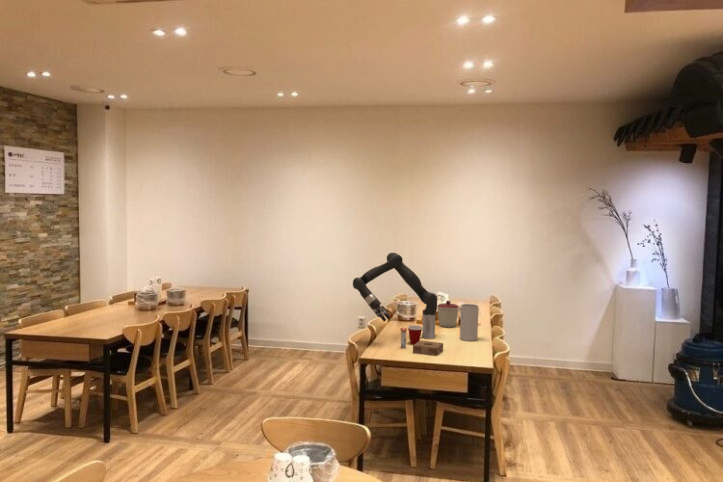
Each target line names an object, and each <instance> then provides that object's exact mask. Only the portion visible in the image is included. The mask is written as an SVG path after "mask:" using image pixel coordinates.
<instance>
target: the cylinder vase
mask: <svg viewBox="0 0 723 482" xmlns="http://www.w3.org/2000/svg"><path fill="white" fill-rule="evenodd" d="M459 323H460V324H459V325H460V326H459V327H460V328H459V339H460V340H461V341H465V342H475V341H478V331H479V305H478V304H471V303H463V304H461V305H460V322H459Z"/></svg>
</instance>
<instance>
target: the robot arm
mask: <svg viewBox="0 0 723 482" xmlns="http://www.w3.org/2000/svg"><path fill="white" fill-rule="evenodd" d="M393 269H394V270H396V272H397V273H398V275H399V276H400V277H401V278H402V280H403V282H405V283H406V284H407V285H408V287H410V288H411V290H412V291H413V292H414V293H415V294H416V295H417V296H418V298H419V299H420V301H421V302H422V303H423V304H425V309H423V311H422V327H423V329H422V331H421V334H422V335H421V337H422V338H423V339H426V340H427V339H429V340H430V339H431V340H432V339H435V337H436V313H437V311H438V307H437V305H438V296H437V294H435V292H429V291H428V290H427V289H426V288H425V287H424V286H423V284H422V281H421V279H420V278H419V277H418V275H417V274H416V273H415V272H414V271H413V270H412V269H410V268H409V267H408V266H407V265H406V264H405V263H404V261H403V257H402V256H401V255H400V254H398V253H397V252H389V253H388V254H387V255H386V262H385V263H383V264H381V265H378V266H374V267H373V268H371V269H369V270H367V271H366V272H365V273H363V275H362V276H360V277H354V278H353V280H352V288H354V290H357V291H358V292H359V295H360V296H361V297H362V298H363V300H364V302H366V304H367V305H368V307H369V308H370V309H371V310H372V311H373V312H374V315H376V316H377V318H380V319H381V320H382V321H383V322H386V321H387V320H388V321H390V320H391V318H392V317H391V316H390V315H389V311H388V310H387V309H386V308H385V306H383V305H382V306H381V304H382V303H381V301H380V300H379V299H378V298H377V297H376V295H375V294H373V292H372V291H371V290H370V289H369V288H368V286H367V284H368V283H370V282H371V281H374V280H375V279H376V278H378V277H380V276H382V275H383V274H385V273H386V272H387V273H388V272H390V271H391V270H393Z"/></svg>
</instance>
